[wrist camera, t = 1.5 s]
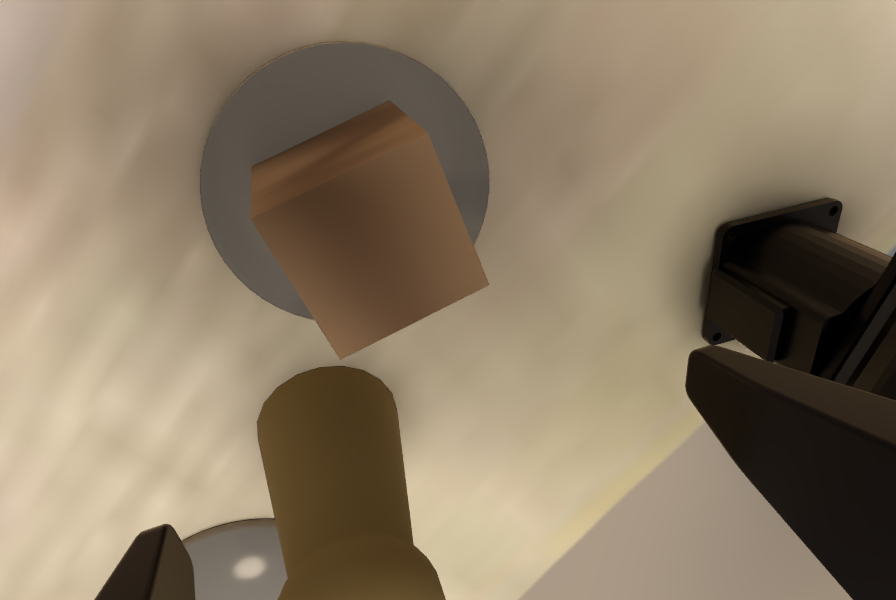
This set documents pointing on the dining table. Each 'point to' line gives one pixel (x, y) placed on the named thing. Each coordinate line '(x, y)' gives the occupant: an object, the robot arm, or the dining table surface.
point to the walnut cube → (365, 227)
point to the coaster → (312, 112)
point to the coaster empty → (238, 561)
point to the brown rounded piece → (341, 490)
